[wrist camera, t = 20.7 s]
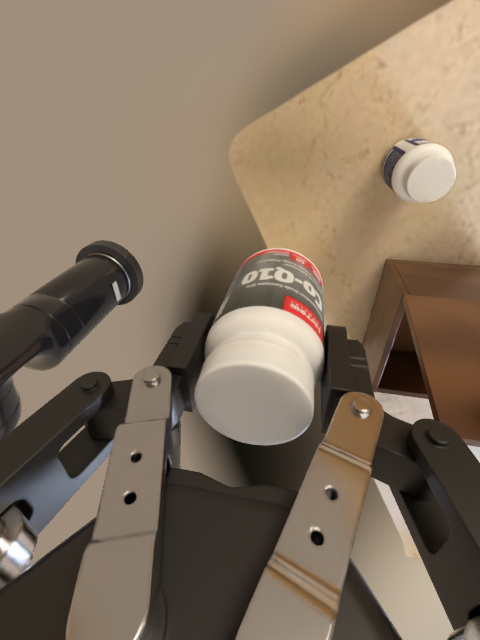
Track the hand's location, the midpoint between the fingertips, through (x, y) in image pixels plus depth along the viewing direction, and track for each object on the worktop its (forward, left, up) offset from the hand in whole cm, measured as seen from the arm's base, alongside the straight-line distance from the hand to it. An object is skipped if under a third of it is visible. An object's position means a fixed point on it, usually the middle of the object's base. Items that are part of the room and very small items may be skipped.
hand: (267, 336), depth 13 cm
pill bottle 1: (0, 0, -5) cm, 5 cm away
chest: (-6, -25, -32) cm, 41 cm away
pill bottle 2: (+8, -9, -33) cm, 35 cm away
